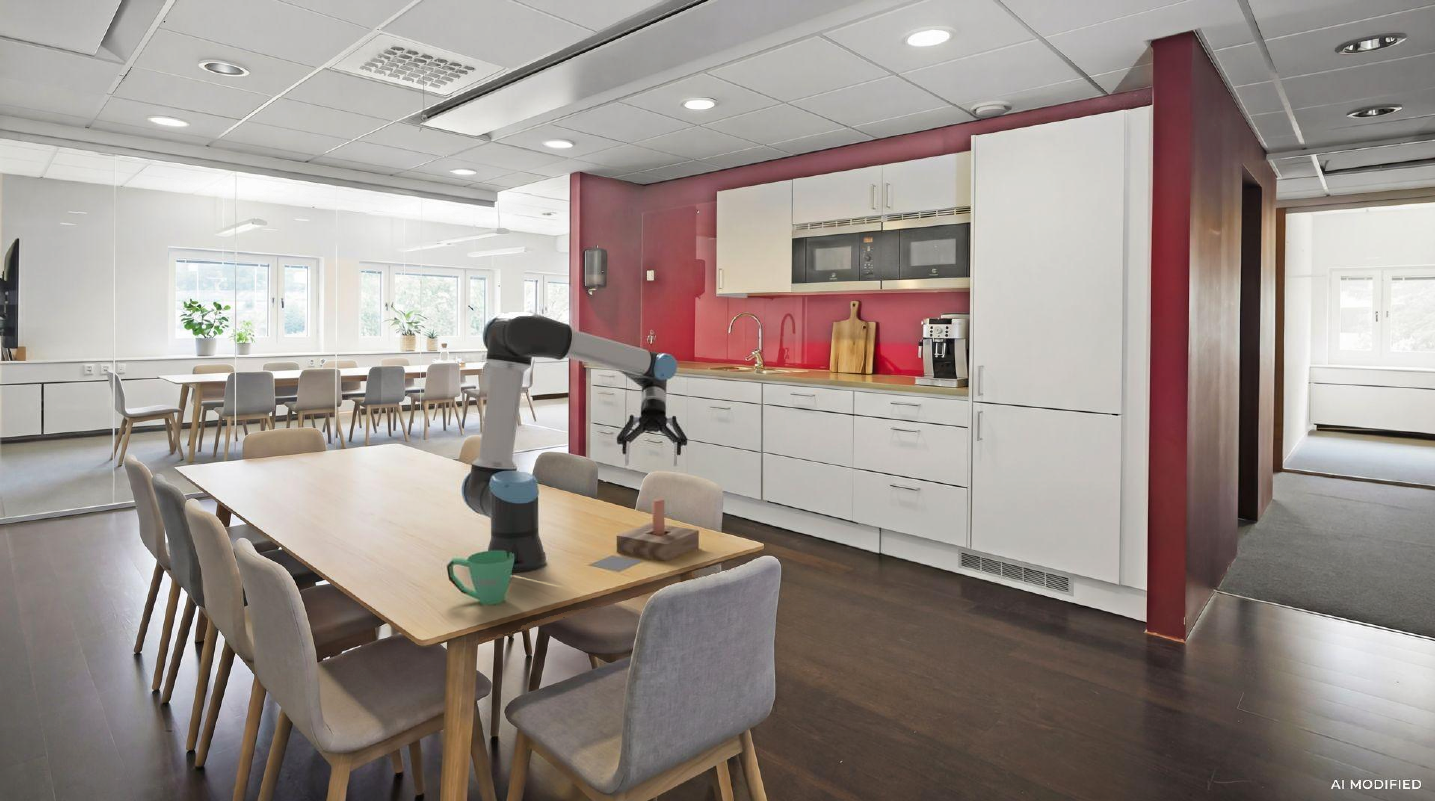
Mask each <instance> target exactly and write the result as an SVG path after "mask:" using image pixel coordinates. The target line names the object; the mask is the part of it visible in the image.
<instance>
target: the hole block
mask: <svg viewBox="0 0 1435 801" xmlns="http://www.w3.org/2000/svg"><path fill="white" fill-rule="evenodd" d="M699 532H700V531H699V530H698V529H692V528H687V527H686V528H685V527H680V526H674V525H673V526H672V525H668V524H665V535H662V536H656V535H653V522H649V523H647V524H644V525H641V526H638V527H636V528H632V529H631V530H630V529H629V530H628V531H625V532H623V533H619V534H617V535H616V553H621V554H624V555H625V554H626V555H630V556H636V557H640V558H641V557H642V558H645V559H651V560H655V561H662V562H667V561H670V560H672V559H674V558H677V557H678V556H681V555H683V554H686V553H687V552H690V551H696V550H697V549H699V546H700V542H699V541H700V539H699V538H700V533H699Z"/></svg>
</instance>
